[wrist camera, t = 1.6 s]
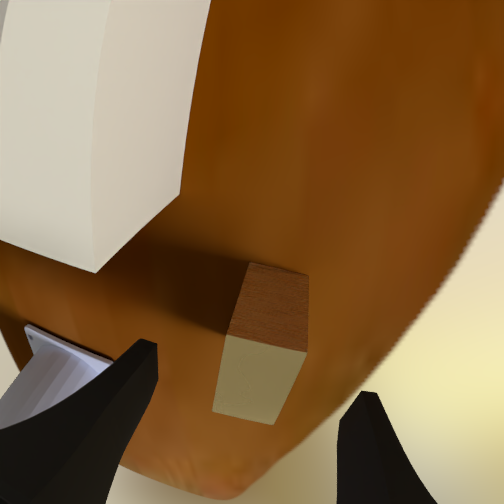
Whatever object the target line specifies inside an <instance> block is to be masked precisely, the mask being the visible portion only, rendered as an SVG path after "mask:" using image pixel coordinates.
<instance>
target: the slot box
mask: <svg viewBox="0 0 504 504" xmlns="http://www.w3.org/2000/svg"><path fill="white" fill-rule="evenodd" d="M210 2H211V0H0V240H2V241H5V242H8V243H10V244H13V245H15V246H18V247H21V248H24V249H26V250H29V251H32V252H34V253H37V254H40V255H43V256H46V257H48V258H51V259H54V260H57V261H60V262H63V263H66V264H69V265H72V266H75V267H78V268H81V269H84V270H87V271H90V272H93V273H97V272H98V270H99V269H100V268H101V267H102V266H103V265H104V264H105V263H106V262H107V261H108V260H109V259H110V258H111V257H112V256H113V255H114V254H115V253H117V252H118V251H119V250H120V249H121V248H122V247H123V246H124V245H125V244H126V243H127V242H128V241H129V240H130V239H131V238H132V237H133V236H134V235H135V234H136V233H137V232H138V231H139V230H140V229H142V228H143V227H144V226H145V225H146V224H147V223H148V222H149V221H150V220H151V219H152V218H153V217H154V216H156V215H157V214H158V213H159V212H160V211H161V210H162V209H163V208H164V207H165V206H167V205H168V204H169V203H170V202H171V201H172V200H173V199H174V198H176V197H177V196H178V195H179V193H180V184H181V175H182V166H183V158H184V150H185V142H186V135H187V128H188V121H189V114H190V107H191V101H192V95H193V89H194V83H195V77H196V71H197V66H198V60H199V55H200V50H201V44H202V39H203V35H204V30H205V25H206V20H207V16H208V11H209V7H210Z"/></svg>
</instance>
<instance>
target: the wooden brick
mask: <svg viewBox="0 0 504 504" xmlns="http://www.w3.org/2000/svg"><path fill="white" fill-rule="evenodd" d="M308 306H309V276H308V275H304V274H300V273H296V272H291V271H287V270H283V269H279V268H275V267H270V266H266V265H262V264H258V263H254V262H250V263H249V266H248V269H247V272H246V275H245V278H244V281H243V284H242V287H241V291H240V294H239V297H238V300H237V303H236V306H235V309H234V312H233V316H232V319H231V322H230V325H229V328H228V331H227V334H226V339H225V345H224V350H223V355H222V361H221V366H220V371H219V377H218V382H217V387H216V393H215V398H214V404H213V409H212V411H213V412H217V413H221V414H225V415H229V416H233V417H238V418H242V419H246V420H251V421H256V422H261V423H266V424H271V425H274V423H275V421H276V419H277V417H278V415H279V413H280V411H281V409H282V407H283V404H284V402H285V400H286V398H287V396H288V394H289V392H290V390H291V388H292V386H293V383H294V381H295V379H296V377H297V375H298V373H299V370H300V368H301V366H302V364H303V362H304V359H305V357H306V355H307V349H308Z"/></svg>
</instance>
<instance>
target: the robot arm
mask: <svg viewBox="0 0 504 504" xmlns="http://www.w3.org/2000/svg"><path fill="white" fill-rule="evenodd" d="M24 329H25V333H26V335H27V338H28V341H29V343H30V346H31V349H32V351H33V354H34V356H33V357H32V358H31V360H30V361H29V362H28V363H27V365H26V366H25V367H24V368H23V370H22V371H21V372H20V374H19V375H18V376H17V377H16V379H15V380H14V381H13V383H12V384H11V385H10V387H9V388H8V389H7V391H6V392H5V393H4V395H3V396H2V398H1V399H0V504H106V500H107V497H108V493H109V491H110V488H111V485H112V482H113V479H114V476H115V473H116V470H117V468H118V465H119V462H120V460H121V457H122V455H123V453H124V451H125V448H126V447H127V445H128V443H129V441H130V439H131V437H132V435H133V433H134V431H135V429H136V427H137V426H138V424H139V422H140V420H141V418H142V416H143V414H144V412H145V410H146V408H147V406H148V404H149V402H150V400H151V397H152V395H153V392H154V389H155V387H156V384H157V381H158V357H157V343H154V342H151V341H147V340H144V339H139V340H137V341H136V342H135V343H134V344H133V345H132V346H131V347H130V348H129V349H128V350H127V351H126V352H125V353H123V354H122V355H121V356H120V357H119V358H118V359H117V360H115V361H114V362H113V361H111V360H108V359H106V358H103V357H101V356H98V355H96V354H93V353H91V352H88V351H86V350H84V349H81V348H79V347H77V346H74V345H72V344H70V343H68V342H65V341H63V340H61V339H59V338H57V337H55V336H52V335H50V334H48V333H46V332H44V331H42V330H40V329H38V328H36V327H34V326H32V325H30V324H27V325H26V326H25V328H24ZM337 504H437V502H436V501H435V500H434V499H433V497H432V496H431V495H430V493H429V492H428V490H427V489H426V487H425V486H424V484H423V483H422V481H421V480H420V478H419V477H418V475H417V474H416V472H415V470H414V469H413V467H412V465H411V463H410V461H409V459H408V458H407V456H406V454H405V452H404V450H403V448H402V446H401V444H400V442H399V440H398V438H397V436H396V433H395V431H394V429H393V427H392V425H391V423H390V421H389V419H388V416H387V414H386V412H385V410H384V407H383V405H382V403H381V401H380V399H379V396H378V394H377V393H375V392H367V391H361V392H360V393H359V395H358V396H357V398H356V399H355V400H354V402H353V403H352V405H351V406H350V407H349V409H348V410H347V412H346V413H345V414H344V416H343V417H342V418H341V419H340V422H339V431H338V440H337Z"/></svg>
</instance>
